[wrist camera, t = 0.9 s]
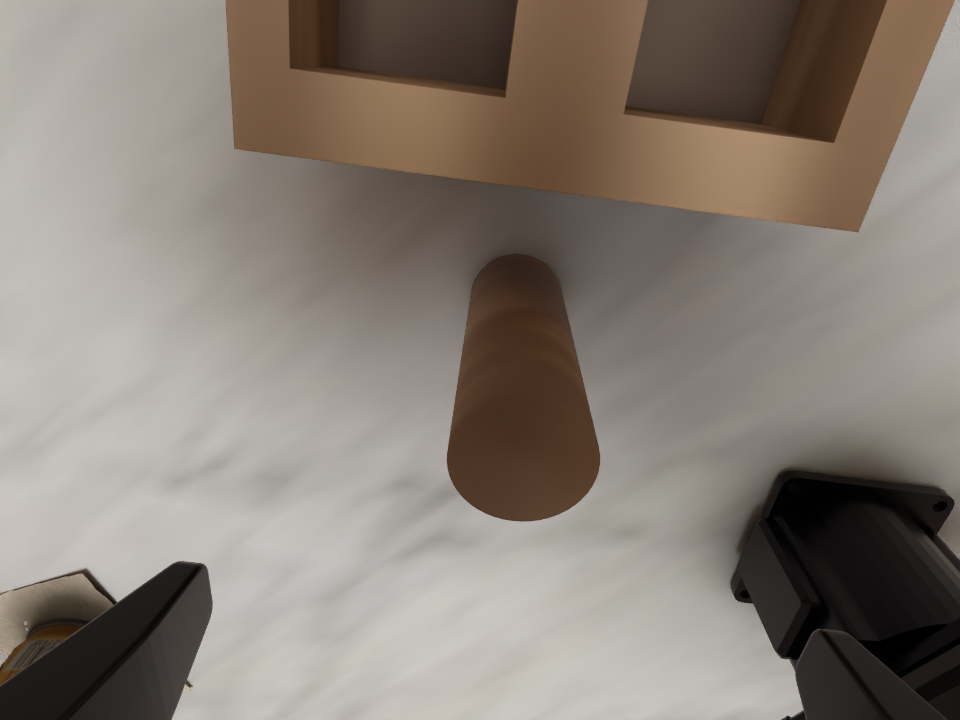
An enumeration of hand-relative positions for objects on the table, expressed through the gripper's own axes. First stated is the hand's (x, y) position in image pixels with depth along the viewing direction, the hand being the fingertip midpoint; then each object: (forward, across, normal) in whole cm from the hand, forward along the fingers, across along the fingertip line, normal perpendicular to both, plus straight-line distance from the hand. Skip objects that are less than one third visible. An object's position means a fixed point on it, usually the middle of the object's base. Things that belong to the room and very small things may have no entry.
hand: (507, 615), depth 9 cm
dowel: (+12, 0, 0) cm, 12 cm away
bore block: (+12, 0, -9) cm, 15 cm away
